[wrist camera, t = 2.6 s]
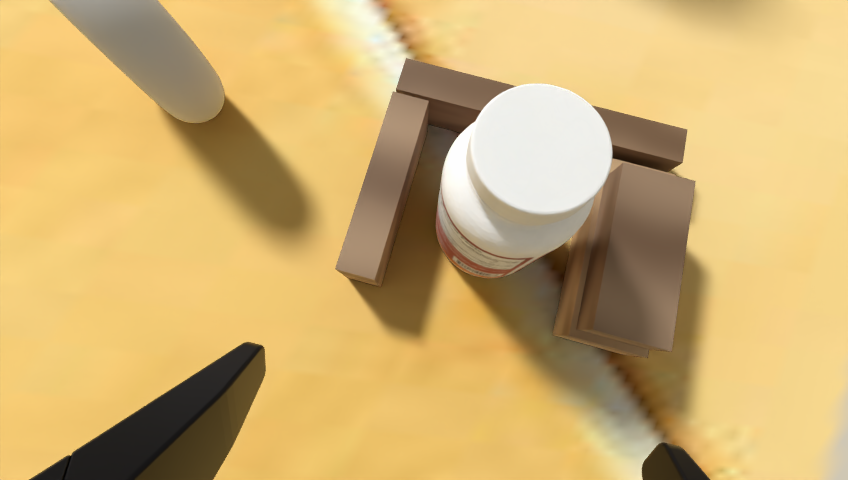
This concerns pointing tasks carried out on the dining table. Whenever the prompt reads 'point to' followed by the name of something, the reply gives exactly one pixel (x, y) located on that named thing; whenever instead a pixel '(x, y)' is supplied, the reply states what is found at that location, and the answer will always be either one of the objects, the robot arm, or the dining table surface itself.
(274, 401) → the dining table surface
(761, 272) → the dining table surface
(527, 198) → the pill bottle
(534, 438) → the dining table surface
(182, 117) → the grey rounded piece
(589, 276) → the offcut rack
